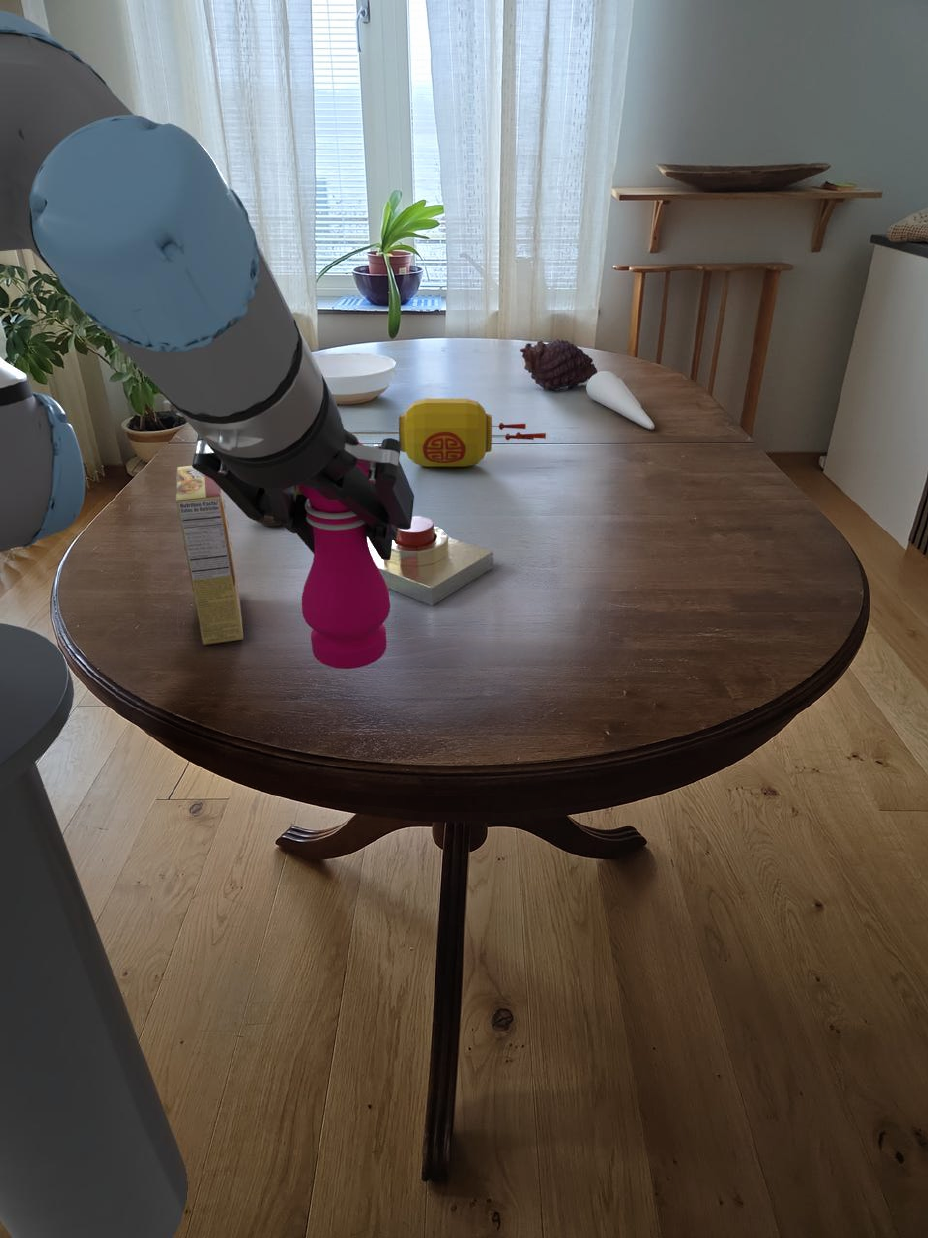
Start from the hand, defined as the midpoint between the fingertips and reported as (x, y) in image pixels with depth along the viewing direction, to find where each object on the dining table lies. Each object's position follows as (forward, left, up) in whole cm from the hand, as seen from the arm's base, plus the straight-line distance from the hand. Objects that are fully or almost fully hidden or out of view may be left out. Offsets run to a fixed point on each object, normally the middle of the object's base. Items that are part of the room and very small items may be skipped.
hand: (354, 541), depth 66 cm
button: (-10, +19, -10) cm, 23 cm away
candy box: (-18, -2, -14) cm, 23 cm away
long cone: (-20, +87, -14) cm, 90 cm away
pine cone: (-39, +97, -14) cm, 105 cm away
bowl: (-68, +66, -14) cm, 96 cm away
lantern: (-29, +48, -14) cm, 58 cm away
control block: (-10, +19, -13) cm, 25 cm away
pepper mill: (+2, -3, -9) cm, 9 cm away
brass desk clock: (-36, +21, -14) cm, 44 cm away
